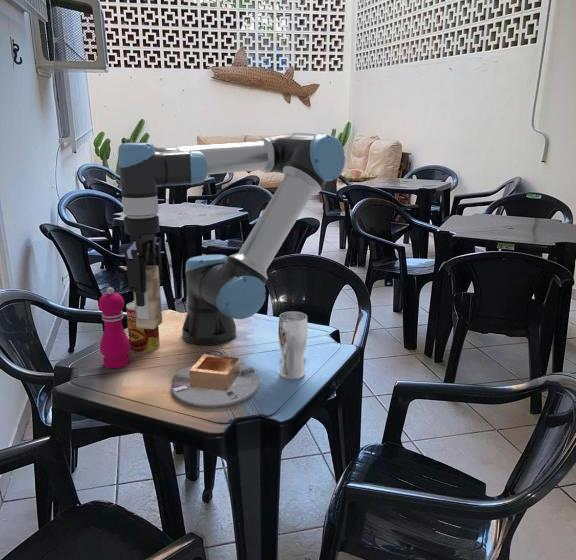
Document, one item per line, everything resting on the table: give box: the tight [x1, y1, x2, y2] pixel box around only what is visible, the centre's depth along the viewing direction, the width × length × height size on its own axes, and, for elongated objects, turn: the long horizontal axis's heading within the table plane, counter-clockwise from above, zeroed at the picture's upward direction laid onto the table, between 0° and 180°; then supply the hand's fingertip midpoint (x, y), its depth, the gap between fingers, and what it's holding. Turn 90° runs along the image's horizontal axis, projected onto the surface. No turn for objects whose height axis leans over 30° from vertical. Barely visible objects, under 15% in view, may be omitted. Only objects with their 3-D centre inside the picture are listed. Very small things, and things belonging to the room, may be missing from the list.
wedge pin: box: [132, 265, 163, 329], centre depth 122 cm, size 4×4×14 cm
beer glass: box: [277, 310, 309, 381], centre depth 126 cm, size 7×7×15 cm
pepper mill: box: [98, 286, 131, 369], centre depth 129 cm, size 7×7×20 cm
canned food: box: [125, 301, 161, 354], centre depth 140 cm, size 8×8×12 cm
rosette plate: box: [170, 353, 260, 409], centre depth 121 cm, size 20×20×6 cm
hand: (148, 314), depth 123 cm, fingers closed on wedge pin, 4 cm apart
